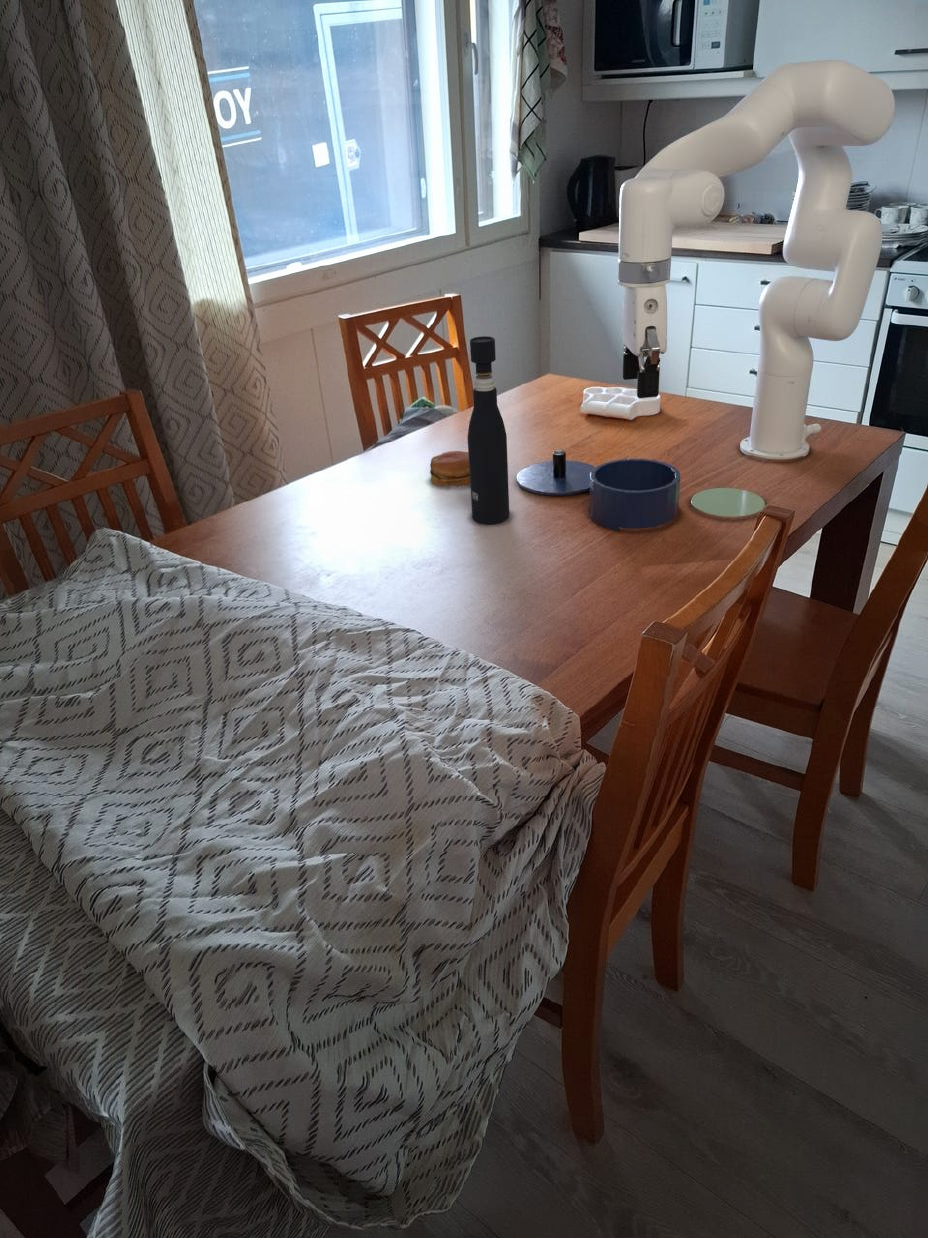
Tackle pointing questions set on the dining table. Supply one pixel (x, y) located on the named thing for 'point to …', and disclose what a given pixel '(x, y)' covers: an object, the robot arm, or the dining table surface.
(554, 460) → the pot lid
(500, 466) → the black bottle
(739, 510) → the plate
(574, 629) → the dining table surface
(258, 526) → the dining table surface
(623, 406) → the white compartment tray
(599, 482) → the pot
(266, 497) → the dining table surface
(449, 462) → the burger
